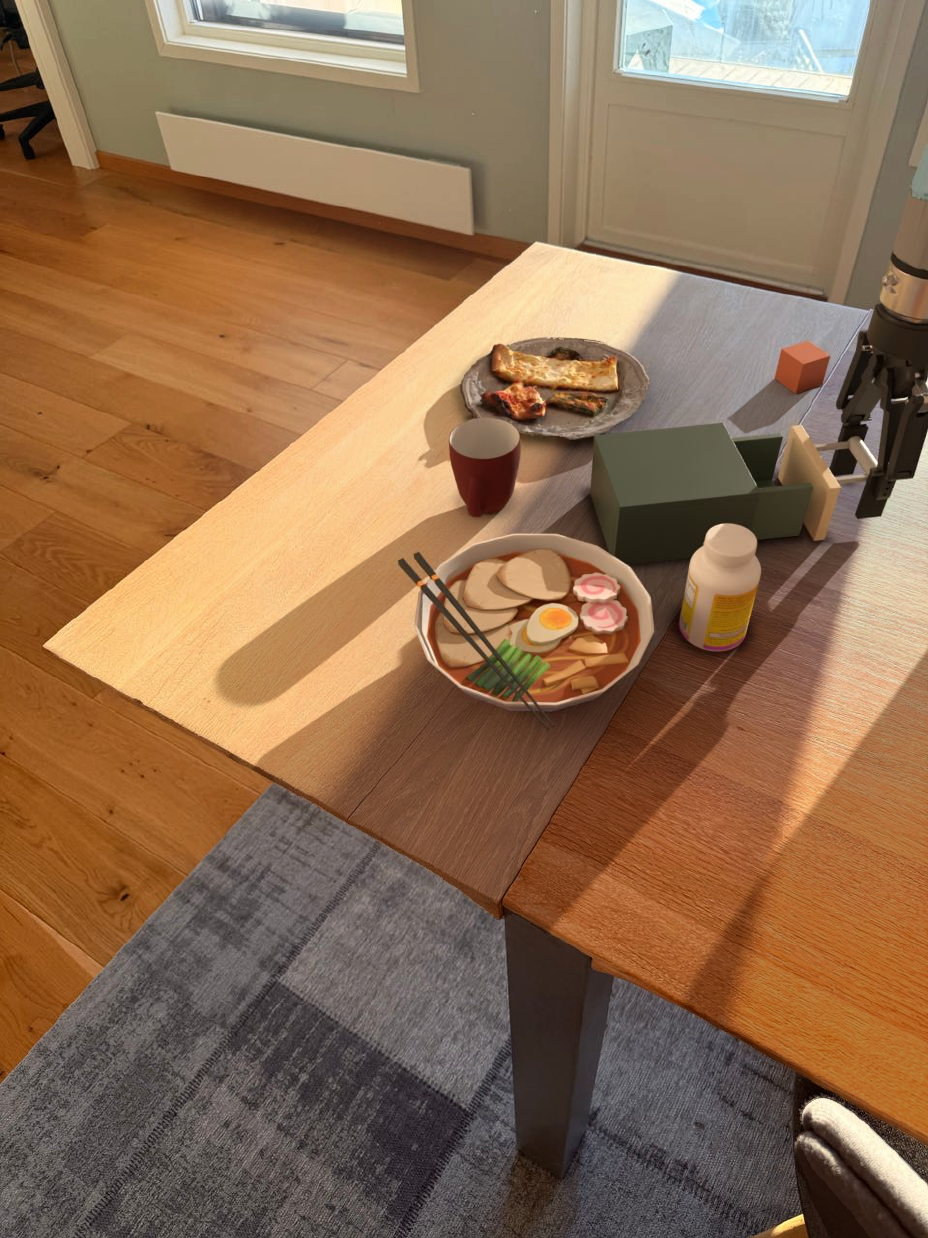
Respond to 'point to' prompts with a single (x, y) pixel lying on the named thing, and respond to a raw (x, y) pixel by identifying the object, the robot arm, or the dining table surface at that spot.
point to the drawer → (797, 482)
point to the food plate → (556, 386)
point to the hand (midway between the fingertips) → (853, 493)
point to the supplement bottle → (721, 589)
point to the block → (802, 367)
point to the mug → (485, 463)
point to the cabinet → (668, 490)
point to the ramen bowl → (532, 620)
